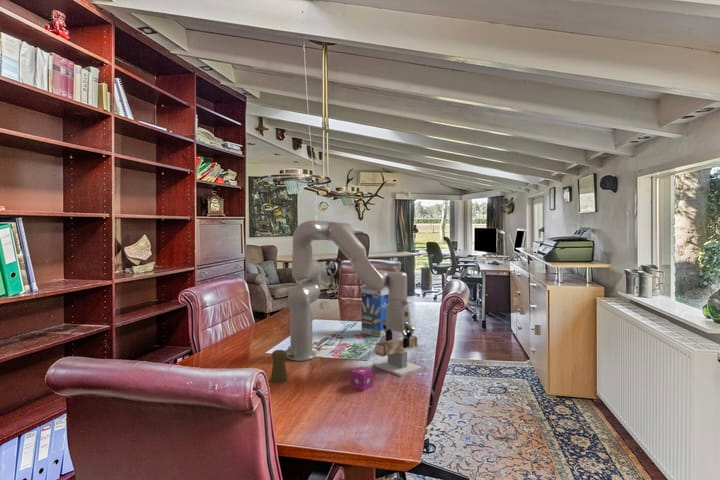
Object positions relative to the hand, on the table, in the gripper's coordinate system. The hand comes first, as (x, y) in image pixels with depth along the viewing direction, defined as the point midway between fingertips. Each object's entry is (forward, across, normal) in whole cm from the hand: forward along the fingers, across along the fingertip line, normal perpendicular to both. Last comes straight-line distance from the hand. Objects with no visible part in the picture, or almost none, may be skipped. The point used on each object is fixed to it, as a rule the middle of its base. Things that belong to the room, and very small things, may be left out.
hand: (397, 344), depth 156 cm
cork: (+9, +19, +43) cm, 48 cm away
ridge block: (+9, 0, 0) cm, 9 cm away
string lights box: (+9, +42, -26) cm, 50 cm away
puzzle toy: (+10, -5, +23) cm, 25 cm away
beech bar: (+2, 0, 0) cm, 2 cm away
